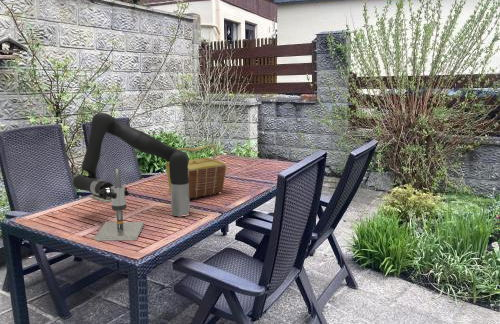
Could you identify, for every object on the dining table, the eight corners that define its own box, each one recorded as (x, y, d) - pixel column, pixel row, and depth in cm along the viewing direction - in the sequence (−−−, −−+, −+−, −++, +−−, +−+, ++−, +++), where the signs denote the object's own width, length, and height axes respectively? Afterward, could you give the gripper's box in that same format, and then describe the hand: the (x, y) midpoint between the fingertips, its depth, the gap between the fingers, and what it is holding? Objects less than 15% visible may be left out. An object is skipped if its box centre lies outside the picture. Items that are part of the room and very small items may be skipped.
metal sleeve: (126, 202, 193) (126, 185, 191) (124, 205, 187) (123, 188, 185) (114, 202, 192) (113, 185, 191) (110, 206, 187) (109, 188, 185)
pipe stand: (144, 225, 202) (141, 165, 196) (136, 240, 184) (133, 173, 178) (105, 226, 201) (102, 165, 195) (94, 240, 183) (90, 173, 177)
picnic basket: (186, 204, 237) (185, 152, 231) (164, 194, 257) (163, 146, 251) (228, 195, 256) (228, 147, 250) (204, 186, 275) (204, 141, 269)
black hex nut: (127, 206, 193) (126, 202, 193) (124, 210, 187) (124, 205, 187) (114, 206, 193) (114, 202, 192) (111, 210, 187) (110, 206, 187)
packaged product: (88, 190, 248) (103, 187, 256) (89, 198, 249) (104, 194, 257) (105, 195, 237) (120, 192, 244) (105, 203, 238) (120, 200, 245)
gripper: (86, 183, 192) (106, 190, 181) (114, 178, 203) (135, 183, 192) (87, 199, 193) (107, 206, 183) (115, 193, 204) (135, 199, 193)
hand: (121, 195), depth 187 cm, fingers closed on metal sleeve, 5 cm apart
